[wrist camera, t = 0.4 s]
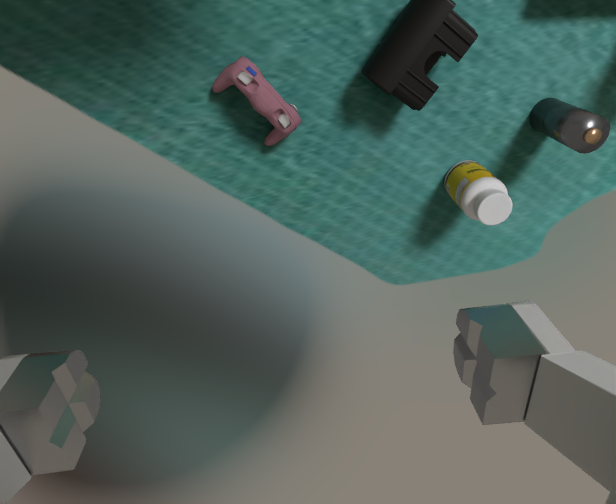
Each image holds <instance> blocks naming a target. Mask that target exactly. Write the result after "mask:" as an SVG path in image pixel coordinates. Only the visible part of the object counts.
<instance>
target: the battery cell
mask: <svg viewBox="0 0 616 504" xmlns="http://www.w3.org/2000/svg"><path fill="white" fill-rule="evenodd" d="M530 124H531V126H532V127H533V128H534V129H535V130H537V131H539V132H541V133H543V134H545V135H547V136H549V137H550V138H552V139H554V140H556V141H558V142H560V143H562V144H564V145H565V146H567V147H569V148H571V149H573V150H575V151H577V152H579V153H590V152H593V151H595V150H596V149H598V148H599V147H600V146H601V145H602V144H603V143H604V142H605V141H606V139H607V137H608V135H609V131H610V126H609V123H608V121H607V120H606V119H605V118H604V117H602V116H599V115H597V114H594V113H591V112H589V111H586V110H583V109H581V108H578V107H576V106H573V105H570V104H568V103H565V102H562V101H560V100H557V99H555V98H546V99H543V100H541V101H540V102H538V103H537V104H536V105H535V106H534V108H533V109H532V111H531V113H530Z"/></svg>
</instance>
